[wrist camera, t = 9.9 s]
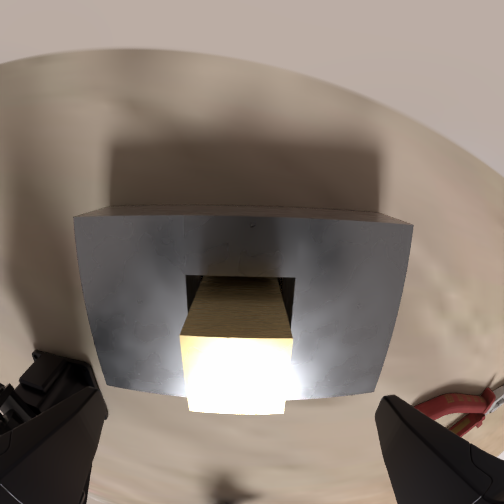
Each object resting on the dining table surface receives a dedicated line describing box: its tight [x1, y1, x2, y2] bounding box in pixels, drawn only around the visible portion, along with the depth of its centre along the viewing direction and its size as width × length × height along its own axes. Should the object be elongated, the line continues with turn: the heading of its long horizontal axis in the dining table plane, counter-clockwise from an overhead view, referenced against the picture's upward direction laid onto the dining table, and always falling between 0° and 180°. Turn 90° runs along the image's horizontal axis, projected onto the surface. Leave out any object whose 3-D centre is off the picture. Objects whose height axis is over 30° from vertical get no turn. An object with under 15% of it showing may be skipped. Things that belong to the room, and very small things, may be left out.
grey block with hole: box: [73, 205, 413, 400], centre depth 15 cm, size 10×16×4 cm, turn 88°
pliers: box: [414, 385, 504, 437], centre depth 21 cm, size 11×20×3 cm, turn 97°
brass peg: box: [179, 275, 293, 414], centre depth 13 cm, size 4×4×8 cm
